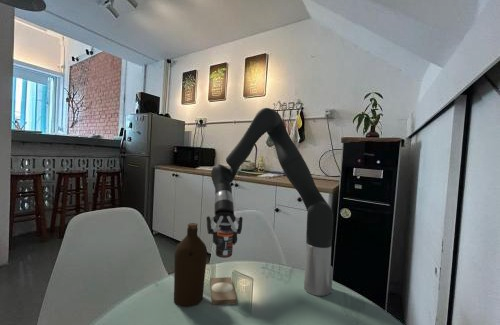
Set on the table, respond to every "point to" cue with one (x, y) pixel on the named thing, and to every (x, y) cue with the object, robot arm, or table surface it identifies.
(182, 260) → the olive oil
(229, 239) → the supplement bottle
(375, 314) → the table surface
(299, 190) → the robot arm
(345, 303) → the table surface
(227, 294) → the board
